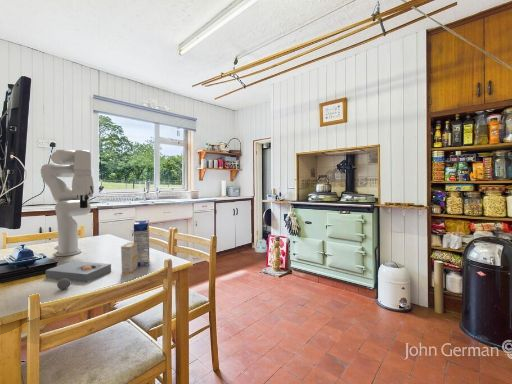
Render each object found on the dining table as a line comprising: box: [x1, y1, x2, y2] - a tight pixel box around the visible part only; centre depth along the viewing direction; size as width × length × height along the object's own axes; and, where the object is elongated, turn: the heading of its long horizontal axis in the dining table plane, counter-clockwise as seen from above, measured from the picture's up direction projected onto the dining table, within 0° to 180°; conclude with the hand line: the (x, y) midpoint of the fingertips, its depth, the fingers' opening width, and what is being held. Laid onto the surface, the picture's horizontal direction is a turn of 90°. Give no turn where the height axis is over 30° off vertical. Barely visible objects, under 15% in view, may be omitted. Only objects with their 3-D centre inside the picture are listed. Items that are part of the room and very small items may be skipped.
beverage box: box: [133, 220, 150, 268], centre depth 139 cm, size 7×11×22 cm, turn 21°
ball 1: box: [56, 278, 72, 290], centre depth 107 cm, size 4×4×4 cm
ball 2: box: [82, 266, 92, 270], centre depth 122 cm, size 4×4×4 cm
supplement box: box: [120, 241, 139, 274], centre depth 129 cm, size 8×5×13 cm, turn 5°
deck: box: [45, 260, 112, 283], centre depth 123 cm, size 22×14×4 cm, turn 78°
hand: (83, 207), depth 141 cm, fingers closed
